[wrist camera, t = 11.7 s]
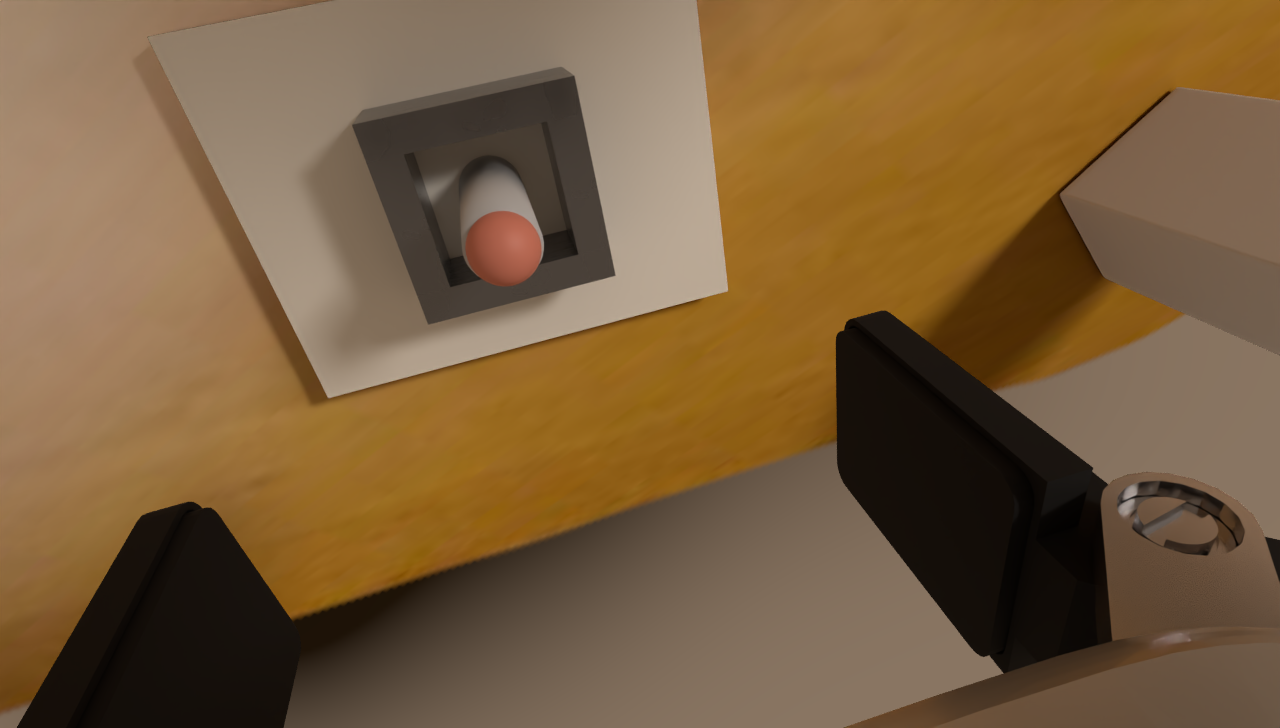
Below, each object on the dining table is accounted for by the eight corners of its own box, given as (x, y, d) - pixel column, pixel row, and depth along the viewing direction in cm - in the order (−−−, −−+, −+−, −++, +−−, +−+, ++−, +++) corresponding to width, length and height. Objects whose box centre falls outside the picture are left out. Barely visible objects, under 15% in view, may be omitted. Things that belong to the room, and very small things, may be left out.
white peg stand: (160, 34, 22) (-5, 61, 14) (678, -67, 24) (792, -95, 16) (332, 384, 29) (288, 533, 21) (719, 281, 32) (811, 381, 23)
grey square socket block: (362, 110, 23) (351, 124, 21) (561, 66, 24) (574, 75, 22) (430, 293, 27) (428, 324, 25) (600, 249, 28) (615, 275, 26)
